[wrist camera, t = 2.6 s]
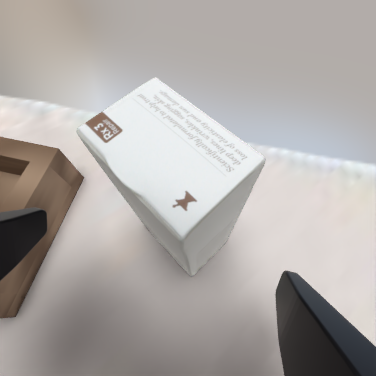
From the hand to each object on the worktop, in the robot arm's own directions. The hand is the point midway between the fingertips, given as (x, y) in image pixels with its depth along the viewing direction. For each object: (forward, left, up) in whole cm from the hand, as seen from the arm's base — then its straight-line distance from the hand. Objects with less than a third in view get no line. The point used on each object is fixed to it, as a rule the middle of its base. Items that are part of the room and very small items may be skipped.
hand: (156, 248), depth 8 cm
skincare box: (+3, -1, -10) cm, 11 cm away
